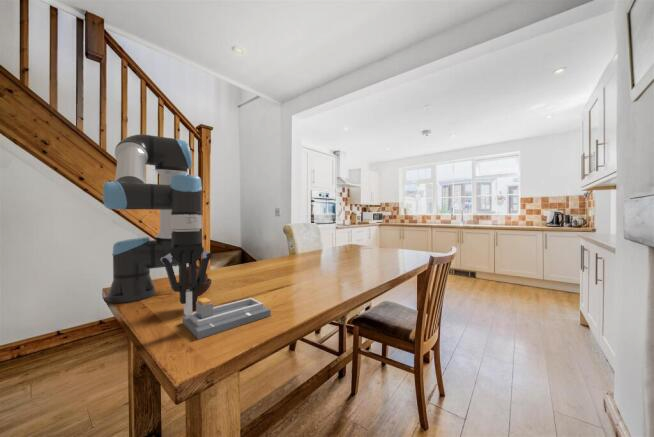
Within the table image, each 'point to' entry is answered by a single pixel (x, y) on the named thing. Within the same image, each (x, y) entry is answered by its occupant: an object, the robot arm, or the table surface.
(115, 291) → the robot arm
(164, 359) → the table surface
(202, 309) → the fader tab
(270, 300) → the table surface
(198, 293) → the ice cream bowl
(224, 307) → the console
